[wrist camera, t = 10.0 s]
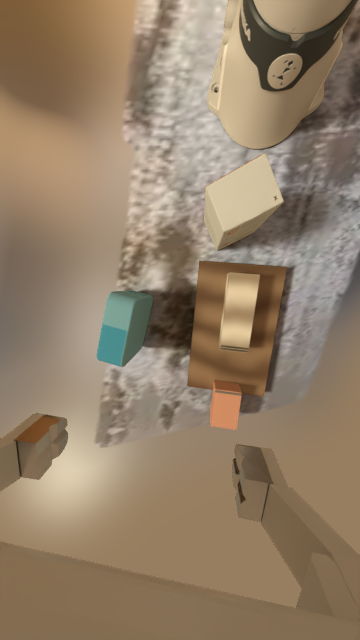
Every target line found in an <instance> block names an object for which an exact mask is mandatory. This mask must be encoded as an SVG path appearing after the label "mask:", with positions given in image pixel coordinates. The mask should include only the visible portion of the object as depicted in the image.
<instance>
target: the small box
mask: <svg viewBox="0 0 360 640" xmlns="http://www.w3.org/2000/svg"><path fill="white" fill-rule="evenodd" d="M283 202H284V200H283V198H282V195H281V193H280V190H279V187H278V185H277V182H276V180H275V177H274V174H273V172H272V169H271V167H270V164H269V161H268V159H267V156H266V154H265V153H264V154H262V155H260V156H258V157H257V158H255V159H253V160H251V161H250V162H248V163H246V164H244V165H243V166H241V167H239V168H237V169H236V170H234V171H232V172H230V173H229V174H227V175H225V176H223V177H222V178H220V179H218V180H216V181H215V182H213V183H211V184H209V185H208V186H206V189H205V217H204V222H205V224H206V226H207V229H208V231H209V233H210V236H211V238H212V240H213V243H214V245H215V248H216V250H217V251H218V250H220V249H222V248H224V247H226V246H228V245H230V244H232V243H234V242H236V241H238V240H240V239H242V238H244V237H246V236H248V235H250V234H252V233H254V232H255V231H256V230H257V229H258V228H259V227H260V226H261V225H262V224H263V223H264V222H265V221H266V220H267V219H268V218H269V217H270V216H271V215H272V214H273V213H274V211H275V210H276V209H277V208H278V207H279V206H280V205H281V204H282V203H283Z"/></svg>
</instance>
